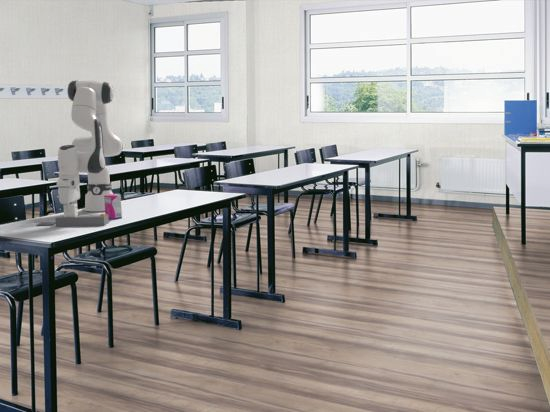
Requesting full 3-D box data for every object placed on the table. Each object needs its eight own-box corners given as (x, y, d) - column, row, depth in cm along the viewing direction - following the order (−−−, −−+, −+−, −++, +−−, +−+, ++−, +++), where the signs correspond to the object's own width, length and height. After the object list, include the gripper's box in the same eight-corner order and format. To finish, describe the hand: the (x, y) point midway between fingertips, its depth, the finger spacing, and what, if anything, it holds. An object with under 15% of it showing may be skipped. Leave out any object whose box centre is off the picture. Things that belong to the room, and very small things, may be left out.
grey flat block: (66, 220, 312) (65, 210, 312) (112, 220, 312) (112, 210, 312) (55, 226, 296) (54, 215, 296) (104, 225, 296) (103, 215, 296)
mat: (41, 223, 306) (41, 222, 306) (56, 223, 306) (56, 222, 306) (36, 225, 299) (36, 224, 299) (51, 225, 299) (51, 224, 299)
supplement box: (114, 217, 322) (113, 193, 321) (122, 218, 319) (121, 194, 317) (104, 218, 318) (103, 195, 316) (112, 219, 314) (111, 195, 313)
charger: (67, 218, 302) (66, 203, 301) (78, 218, 302) (77, 203, 301) (64, 220, 298) (63, 204, 297) (75, 220, 298) (74, 204, 297)
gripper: (69, 179, 308) (70, 208, 310) (55, 183, 288) (57, 214, 289) (82, 179, 308) (84, 208, 310) (69, 183, 288) (71, 214, 289)
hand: (71, 211), depth 299 cm, fingers open, 8 cm apart
